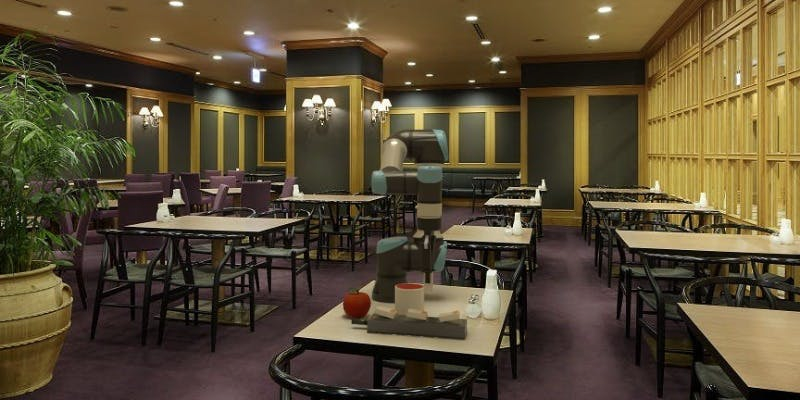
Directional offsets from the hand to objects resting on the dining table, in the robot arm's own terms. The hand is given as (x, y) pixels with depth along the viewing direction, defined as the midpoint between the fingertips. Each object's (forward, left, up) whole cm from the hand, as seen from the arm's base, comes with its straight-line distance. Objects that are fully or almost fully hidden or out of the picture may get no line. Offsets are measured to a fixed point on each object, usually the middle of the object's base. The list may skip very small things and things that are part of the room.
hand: (428, 292), depth 180 cm
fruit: (-13, -26, -13) cm, 32 cm away
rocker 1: (0, -13, -7) cm, 15 cm away
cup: (-19, -9, -13) cm, 24 cm away
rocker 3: (0, +7, -7) cm, 10 cm away
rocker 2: (0, -3, -7) cm, 7 cm away
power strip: (0, -6, -13) cm, 14 cm away
